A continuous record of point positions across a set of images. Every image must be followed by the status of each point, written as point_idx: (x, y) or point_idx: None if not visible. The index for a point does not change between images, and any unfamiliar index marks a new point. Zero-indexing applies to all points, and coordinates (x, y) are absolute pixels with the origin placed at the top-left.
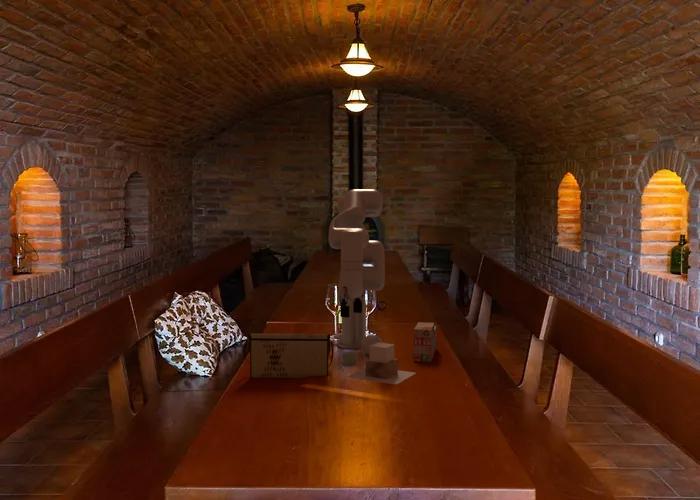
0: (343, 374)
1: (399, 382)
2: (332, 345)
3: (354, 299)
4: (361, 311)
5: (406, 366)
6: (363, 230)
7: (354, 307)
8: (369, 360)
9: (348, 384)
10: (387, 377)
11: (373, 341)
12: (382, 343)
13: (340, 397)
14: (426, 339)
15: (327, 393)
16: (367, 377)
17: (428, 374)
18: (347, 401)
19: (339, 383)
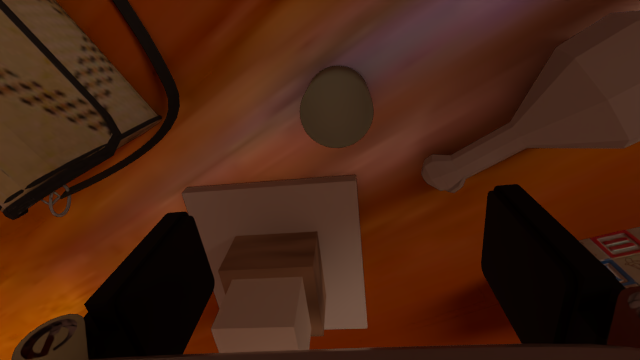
0: (239, 138)
1: None
2: (101, 177)
3: (612, 322)
4: (493, 283)
5: (468, 256)
6: None
7: (513, 235)
8: (235, 277)
9: (160, 214)
10: None
11: (589, 125)
12: (287, 347)
13: (57, 257)
14: None
15: (48, 214)
16: (226, 248)
17: (407, 334)
18: (52, 284)
19: (146, 187)
